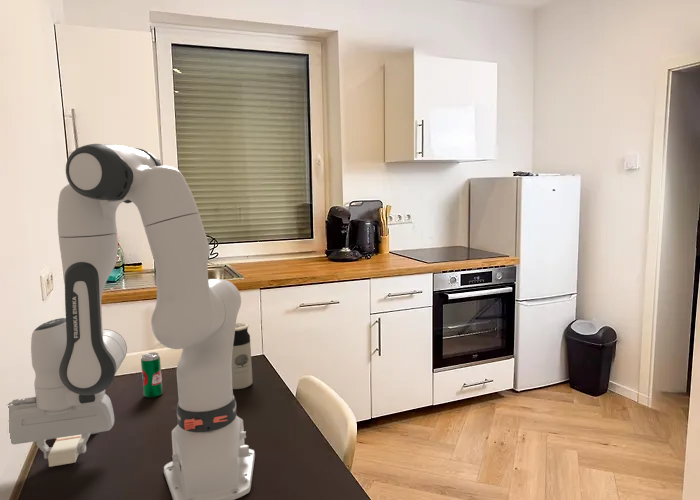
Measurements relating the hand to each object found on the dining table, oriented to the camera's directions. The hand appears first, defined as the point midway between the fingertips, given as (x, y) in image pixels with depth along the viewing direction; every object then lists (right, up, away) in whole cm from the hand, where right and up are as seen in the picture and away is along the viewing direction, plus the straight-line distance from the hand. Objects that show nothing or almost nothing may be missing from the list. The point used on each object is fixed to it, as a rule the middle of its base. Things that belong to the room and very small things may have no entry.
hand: (65, 454), depth 114 cm
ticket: (-1, 0, +4) cm, 5 cm away
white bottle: (+29, +4, +41) cm, 51 cm away
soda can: (+6, +3, +35) cm, 36 cm away
